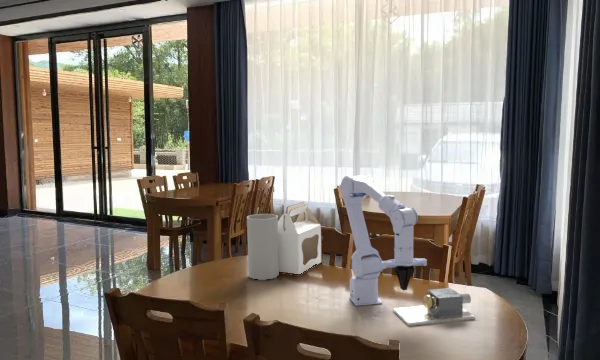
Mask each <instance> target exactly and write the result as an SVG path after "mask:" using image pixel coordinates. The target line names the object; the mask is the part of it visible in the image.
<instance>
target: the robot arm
mask: <svg viewBox="0 0 600 360" xmlns="http://www.w3.org/2000/svg"><path fill="white" fill-rule="evenodd" d="M339 186H340V191H341V195H342V199H343V202H344V205H345V208H346V213H347V216H348V221H349V226H350V230H351V233H352V238H353V242H354V247H355V251H354V252H353V253H352V255H351V257H350V258H351V271H352V273H353V274H354V276H351V277H350V279H349V298H348V299H350V300H351V302H353V304H354V305H355V306H356V307H358V306H368V305H369V306H370V305H379V304H383V302H382V300H381V299H380V298H379V276H380V275H381V274H380V273H381V272H383V270H385V269H392V268H393V270H394V272H395V274H396V276H397V279H398V284H399V287H400V289H401V290H402V291H408V287H409V283H410V280H411V278H412V276H413V274H414V272H415V267H417V266H418V267H419V266H423V267H426V266H428V259H426V258H425V257H424V258H423V257H422V258H420V257H419V258H418V257H414V226H415V225H417V223H418V220H419V219H418V218H419V217H418V216H419V215H418V213H417V211H416V210H415V209H414V207H412V206H406V205H404V203H402V202H400V201H399V200H398V199H396V197H395V195H394V194H385V192H383V190H381V189H380V187H378V186H377V185H376V183H374V179H373V177H371V176H370V175H369V174H362V175H350V176H349V175H345V176H344V177H343V178H342V180H341V182H340V185H339ZM367 196H368V197H369V198H371V199H373V201H375V202H377V203H378V208H379V210H381V212H383V213H384V214H385V215H386V216H387V217H389V219H390V222H391V225H392V230H393V233H394V258H393V259H388V260H382V257H381V256H380V253H379V251H378V250H377V249H376V248H374V247H373V246H372V244H371V239H370V236H369V233H368V232H369V231H368V228H367V223H366V220H365V216H364V212H363V208H362V201H363V200H364V199H365V198H366V197H367Z"/></svg>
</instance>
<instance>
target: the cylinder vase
mask: <svg viewBox="0 0 600 360" xmlns="http://www.w3.org/2000/svg"><path fill="white" fill-rule="evenodd" d="M278 217H279V216H278V215H277V214H273V213H259V214H249V215H247V216H246V228H247V229H246V232H247V235H246V237H247V238H246V239H247V262H248V263H247V265H248V267H247V268H248V270H247V272H248V278H249V279H251V278H253V279H252V280H254V279H258V280H257V281H267V280H266V279H271V280H274V279H277V278H278V277H279V274H280V273H279V254H278V221H279V218H278ZM277 276H278V277H277ZM273 278H274V279H273Z"/></svg>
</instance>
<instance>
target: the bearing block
mask: <svg viewBox="0 0 600 360" xmlns="http://www.w3.org/2000/svg"><path fill="white" fill-rule="evenodd" d="M426 291H427V292H426V293H427V294H426V295H431V296H432V297H436V306H434V307H433V309H426V308H425V307H424V305H416V306H415V305H414V306H405V307H394V308H392V310H393V311H392V312H393V313H394V314H396V315H397V317H399V319H400V320H402V322H404V323H405V324H406V325H407V326H408V327H413V326H422V325H432V324H441V323H442V324H443V323H451V322H452V323H453V322H460V321H461V322H463V321H471V320H476V319H475V317H476V316H475V315H473V314H472V313H471V312H470V311H468V310H466V309H465V308H464V306H463V305H464V304H463V296H462V295H460V293H458V292H457V291H456V290H454V289H452V288H450V287H446V288H444V287H443V288H434V289H433V288H432V289H427V290H426Z"/></svg>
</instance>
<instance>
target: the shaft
mask: <svg viewBox="0 0 600 360" xmlns="http://www.w3.org/2000/svg"><path fill="white" fill-rule="evenodd" d="M459 294H460V293H459ZM460 295H462V296H463V305H464V304H470V303H471V301H472V297H471V295H470V294H469V293H461V294H460ZM422 303H423V306H424V307H425V308H426V309H433V307H434V306H436V297H432V296H431V295H427V294H424V295H423V298H422Z"/></svg>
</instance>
